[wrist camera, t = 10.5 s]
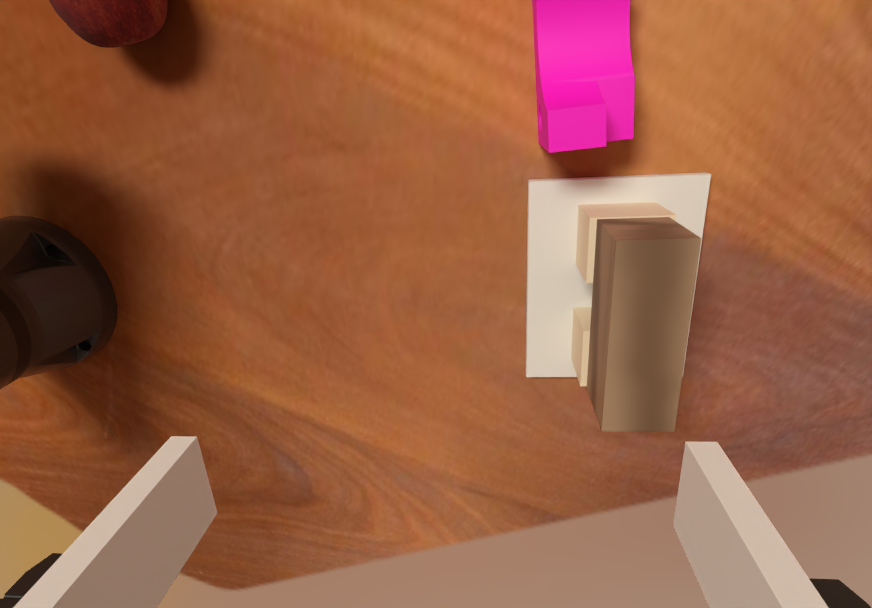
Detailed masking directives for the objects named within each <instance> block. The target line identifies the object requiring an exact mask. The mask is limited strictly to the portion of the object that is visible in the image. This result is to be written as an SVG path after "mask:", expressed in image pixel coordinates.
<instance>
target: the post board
mask: <svg viewBox="0 0 872 608" xmlns="http://www.w3.org/2000/svg"><path fill="white" fill-rule="evenodd" d="M710 178H711V174H709V173H682V174H657V175H632V176H607V177H582V178H557V179H532V180H528V220H527V301H526V377H577V378H578V381H579V384H580V386H587V373H588V357H589V341H590V325H591V308H592V292H593V276H594V260H595V244H596V228H597V219H619V218H650V217H670V218H671V219H673V220H674V221H676V222H678V223H679V224H681V225H682V226H684V227H685V228H687V229H688V230H690V231H691V232H693V233H694V234H696V235H697V236H699V237H700V238H701V243H702V236H703V228H704V221H705V214H706V207H707V200H708V193H709V186H710ZM700 250H701V245H700ZM699 257H700V252H699ZM698 264H699V259H698ZM697 271H698V267H697ZM696 278H697V274H696ZM695 286H696V281H695ZM694 293H695V288H694ZM693 300H694V295H693ZM692 307H693V302H692ZM691 314H692V310H691ZM690 321H691V317H690ZM689 328H690V324H689ZM688 336H689V331H688ZM687 343H688V338H687ZM686 350H687V346H686ZM685 357H686V353H685ZM684 364H685V360H684ZM683 371H684V367H683ZM682 377H683V374H682Z"/></svg>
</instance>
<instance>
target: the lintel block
mask: <svg viewBox="0 0 872 608" xmlns="http://www.w3.org/2000/svg"><path fill="white" fill-rule="evenodd" d="M700 245H701V238H700V237H699V236H697V235H696V234H694V233H693V232H691V231H690V230H688V229H687V228H685V227H684V226H682V225H681V224H679V223H678V222H676V221H674V220H673V219H671V218H670V217H650V218H619V219H597V228H596V244H595V260H594V276H593V292H592V308H591V325H590V341H589V357H588V373H587V390H588V393H589V396H590V399H591V402H592V405H593V407H594V410H595V413H596V416H597V419H598V422H599V425H600V428H601V431H645V432H675V425H676V417H677V410H678V403H679V396H680V389H681V381H682V374H683V367H684V360H685V353H686V346H687V338H688V331H689V324H690V317H691V310H692V302H693V295H694V288H695V281H696V274H697V267H698V259H699V252H700Z"/></svg>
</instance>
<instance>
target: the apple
mask: <svg viewBox="0 0 872 608" xmlns="http://www.w3.org/2000/svg"><path fill="white" fill-rule="evenodd" d="M49 1H50V3H51V5H52V6H53V8H54V10H55V11H56V12H57V14H58V15H59V16H60V17H61V18H62V20H63V21H64V22H65V23H66V24H67V25H68V26H69V27H70V28H71V29H72V30H73V31H74V32H75V33H76V34H77V35H78V36H80V37H81V38H82V39H84V40H85V41H87V42H89V43H91V44H93V45H96V46H100V47H119V46H125V45H130V44H135V43H139V42H142V41H144V40H147V39H149V38H151V37H153V36H154V35H156V34H157V33H158V32H159V31H160V29H161V28H162V26H163V25H164V22H165V20H166V17H167V8H168V6H167V0H49Z"/></svg>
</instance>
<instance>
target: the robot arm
mask: <svg viewBox="0 0 872 608" xmlns="http://www.w3.org/2000/svg"><path fill="white" fill-rule="evenodd" d="M116 319H117V304H116V298H115V293H114V290H113V287H112V284H111V282H110V279H109V277H108V275H107V273H106V272H105V270H104V268H103V267H102V265H101V264H100V262H99V261H98V260H97V258H96V257H95V256H94V255H93V253H92V252H91V251H90V250H89V249H88V248H87V247H86V246H85V245H84V244H83V243H82V242H80V241H79V240H78V239H77V238H75V237H74V236H73V235H71V234H70V233H68V232H67V231H65V230H64V229H62V228H60V227H58V226H56V225H54V224H52V223H49V222H47V221H44V220H41V219H37V218H33V217H26V216H10V217H4V218H0V389H1V388H3V387H5V386H6V385H8V384H10V383H11V382H13V381H15V380H17V379H18V378H22V377H27V376H31V375H35V374H40V373H44V372H48V371H53V370H57V369H61V368H66V367H69V366H72V365H75V364H77V363H80V362H82V361H83V360H85V359H87V358H88V357H90V356H91V355H93V354H94V353H96V352H97V351H99V350H100V349H101V348H102V347H103V346H104V345H105V344H106V343H107V342H108V340H109V339H110V337H111V335H112V333H113V331H114V328H115V324H116ZM216 515H217V510H216V506H215V502H214V498H213V495H212V491H211V487H210V483H209V480H208V476H207V472H206V468H205V465H204V461H203V457H202V453H201V450H200V446H199V442H198V438H197V437H193V436H171V437H170V438H169V439H168V440H167V441H166V442H165V444H164V445H163V446H162V447H161V448H160V449H159V450H158V451H157V452H156V453H155V454H154V455H153V457H152V458H151V459H150V460H149V461H148V462H147V463H146V464H145V465H144V466H143V467H142V468H141V470H140V471H139V472H138V473H137V474H136V475H135V476H134V477H133V478H132V479H131V480H130V482H129V483H128V484H127V485H126V486H125V487H124V488H123V489H122V490H121V491H120V492H119V493H118V495H117V496H116V497H115V498H114V499H113V500H112V501H111V502H110V503H109V504H108V505H107V506H106V508H105V509H104V510H103V511H102V512H101V513H100V514H99V515H98V516H97V517H96V518H95V519H94V521H93V522H92V523H91V524H90V525H89V526H88V527H87V528H86V529H85V530H84V531H83V532H82V534H81V535H80V536H79V537H78V538H77V539H76V540H75V541H74V542H73V543H72V544H71V546H70V547H69V548H68V549H67V550H66V551H65V552H64V553H63V554H57V553H52V554H51V555H50V556H48V557H47V558H45V559H44V560H43V561H41V562H40V563H38V564H37V565H35V566H34V567H33V568H31V569H30V570H28V571H27V572H26V573H25V574H24V575H23V576H22V577H21V578H20V579H19V580H18V581H17V582H16V583H15V584H14V585H13V586H12V587H11V588H10V589H9V590H8V591H7V592H6V593H5V597H4V598H3V599H0V608H157V607H158V605H159V604H160V602H161V600H162V599H163V597H164V596H165V594H166V593H167V591H168V589H169V588H170V586H171V585H172V583H173V582H174V580H175V579H176V577H177V575H178V574H179V572H180V571H181V569H182V568H183V566H184V565H185V563H186V561H187V560H188V558H189V557H190V555H191V554H192V552H193V551H194V549H195V547H196V546H197V544H198V543H199V541H200V540H201V538H202V536H203V535H204V533H205V532H206V530H207V529H208V527H209V526H210V524H211V522H212V521H213V519H214V518H215V516H216ZM673 526H674V528H675V530H676V533H677V535H678V538H679V540H680V542H681V545H682V547H683V549H684V551H685V554H686V556H687V558H688V560H689V563H690V565H691V567H692V569H693V572H694V574H695V576H696V579H697V581H698V583H699V586H700V588H701V590H702V592H703V595H704V597H705V599H706V602H707V604H708V606H709V608H871V607H870V606H869V605H868V604H867V603H866V602H865V601H864V600H863V599H861V598H860V597H859V596H858V595H856V594H855V593H854V592H853V591H852V590H850V589H849V588H848V587H847V586H846V585H845V584H843V583H842V582H841V581H840V580H834V579H833V580H832V579H809V578H808V577H807V575H806V573H805V572H804V571H803V569H802V568H801V566H800V565H799V563H798V562H797V560H796V559H795V557H794V556H793V554H792V553H791V551H790V550H789V548H788V547H787V545H786V544H785V542H784V541H783V539H782V538H781V536H780V535H779V533H778V532H777V530H776V529H775V528H774V526H773V524H772V523H771V521H770V520H769V518H768V517H767V515H766V514H765V512H764V511H763V510H762V508H761V507H760V505H759V504H758V502H757V501H756V499H755V498H754V496H753V495H752V493H751V492H750V490H749V489H748V487H747V486H746V484H745V483H744V481H743V480H742V478H741V477H740V475H739V474H738V472H737V471H736V469H735V468H734V466H733V465H732V463H731V462H730V460H729V459H728V457H727V456H726V454H725V453H724V451H723V450H722V448H721V447H720V445H719V444H718V442H686V443H685V449H684V456H683V462H682V469H681V475H680V482H679V489H678V495H677V502H676V508H675V516H674V522H673Z"/></svg>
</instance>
